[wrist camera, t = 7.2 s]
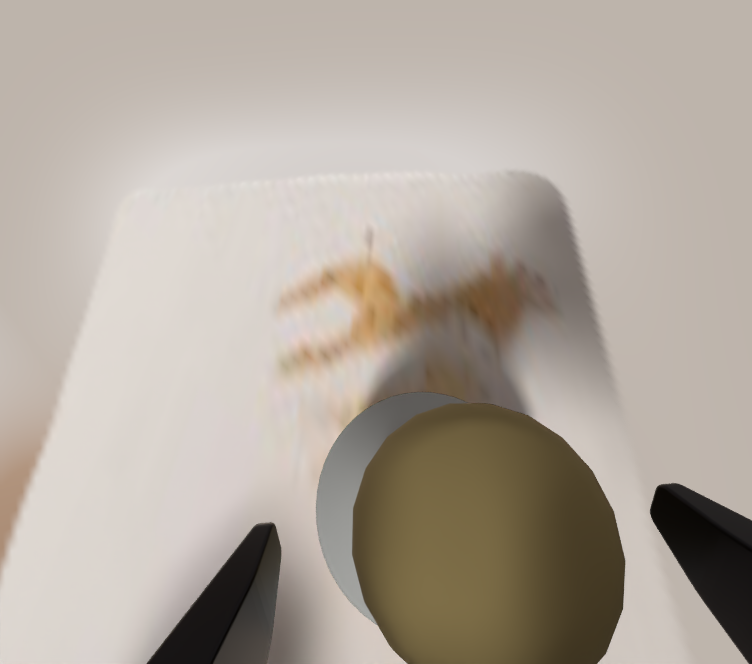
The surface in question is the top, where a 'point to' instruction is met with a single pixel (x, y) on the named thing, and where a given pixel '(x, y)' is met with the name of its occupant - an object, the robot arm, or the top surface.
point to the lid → (359, 480)
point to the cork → (487, 542)
